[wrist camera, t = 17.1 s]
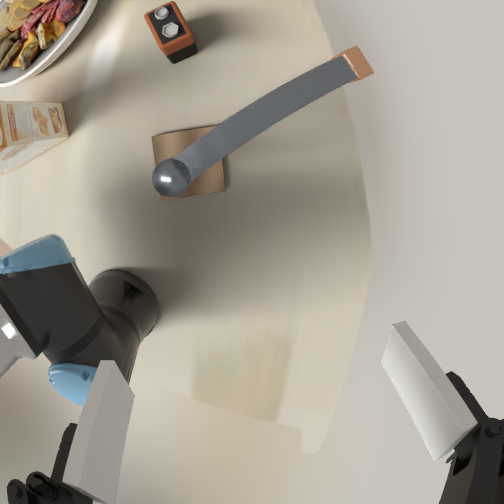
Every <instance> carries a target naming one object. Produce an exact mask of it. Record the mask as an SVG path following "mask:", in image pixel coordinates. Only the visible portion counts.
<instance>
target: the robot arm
mask: <svg viewBox="0 0 504 504" xmlns="http://www.w3.org/2000/svg"><path fill="white" fill-rule="evenodd" d="M75 261H76V260H75V258H74V257H72V255H71V254H70V252H69V250H68V248H67V246H66V244H65V243H64V241H63V239H62V238H61V237H60V236H58V235H55V234H50V235H46V236H44V237H41V238H39V239H36V240H34V241H32V242H30V243H27V244H25V245H23V246H21V247H19V248H17V249H15V250H13V251H11V252H9V253H7V254H6V255H4V256H2V257H0V378H1V377H2V376H3V375H4V374H5V373H6V372H7V371H8V370H9V369H10V367H11V366H12V365H13V364H14V363H15V362H16V361H17V360H18V359H20V358H27V359H36V358H37V357H38V355H40V353H41V352H43V353H44V355H45V356H46V357H47V359H48V360H49V361H50V362H51V364H52V365H51V366H50V367H49V374H48V376H49V381H50V383H51V385H52V386H53V387H54V388H55V389H56V390H57V392H59V393H60V394H61V395H62V396H64V397H65V398H67V399H69V400H70V401H72V402H74V403H76V404H79V405H81V406H84V407H83V410H82V413H81V416H80V419H79V422H78V424H74V423H70V425H69V426H68V427H67V428H66V430H65V431H64V434H63V437H62V442H61V443H60V447H59V449H60V450H59V451H58V454H57V457H56V461H55V464H54V468H53V472H52V476H51V478H49V477H47V476H46V475H44V474H43V473H41V472H37V471H36V472H33V473H31V474H30V475H29V476H28V477H27V479H26V484H24V483H23V482H21V481H19V480H17V479H13V480H11V481H10V482H9V484H8V486H7V495H8V502H9V504H92V503H93V500H94V501H96V502H98V503H100V504H116V496H117V488H118V481H119V475H120V468H121V462H122V455H123V450H124V445H125V439H126V434H127V429H128V424H129V419H130V415H131V410H132V406H133V401H134V396H135V395H134V393H133V392H132V390H131V388H130V387H129V382H130V378H131V374H132V370H133V366H134V363H135V359H136V355H137V352H138V348H139V345H140V343H141V342H142V341H143V339H144V338H145V337H146V336H147V335H148V334H149V333H150V332H151V331H152V330H153V328H154V326H155V324H156V321H157V318H158V313H159V308H158V302H157V299H156V297H155V295H154V293H153V292H152V290H151V289H150V288H149V287H148V285H147V284H146V283H144V282H143V281H142V280H141V279H139V278H138V277H136V276H134V275H132V274H130V273H127V272H124V271H119V270H110V271H105V272H102V273H100V274H99V275H97V276H96V277H95V278H94V279H93V280H92V282H91V283H90V285H89V286H87V284H86V282H85V280H84V278H83V276H82V274H81V272H80V270H79V269H78V267H77V265H76V263H75ZM381 364H382V365H383V367H384V369H385V371H386V372H387V374H388V376H389V377H390V379H391V381H392V382H393V384H394V386H395V388H396V390H397V392H398V393H399V395H400V397H401V399H402V401H403V403H404V404H405V406H406V408H407V410H408V412H409V413H410V415H411V417H412V419H413V421H414V423H415V425H416V427H417V429H418V431H419V433H420V435H421V436H422V438H423V440H424V442H425V444H426V446H427V448H428V450H429V452H430V454H431V456H432V458H433V460H434V461H436V460H438V459H440V458H442V457H443V456H445V455H447V454H448V453H449V452H450V451H451V450H452V449H453V448H454V450H455V452H454V453H453V454H452V455H451V456H450V457H449V458H448V459H447V461H446V463H448V462H449V461H451V460H452V462H451V466H450V470H449V474H448V478H447V481H446V484H445V487H444V490H443V493H442V496H441V499H440V502H439V504H504V419H502V420H498V419H495V418H489V417H488V416H487V415H486V414H485V412H484V411H483V409H482V408H481V406H480V405H479V403H478V402H477V400H476V399H475V397H474V396H473V395H472V393H470V390H469V389H468V388H467V387H466V385H465V383H464V382H463V380H462V379H461V378H460V377H459V376H458V375H456V374H455V373H453V372H452V371H451V372H449V373H447V374H445V373H444V372H443V370H442V369H441V368H440V366H439V365H438V364H437V362H436V361H435V359H434V358H433V357H432V355H431V354H430V353H429V351H428V350H427V349H426V347H425V346H424V345H423V343H422V342H421V341H420V340H419V338H418V337H417V336H416V334H415V333H414V332H413V331H412V329H411V328H410V327H409V325H408V324H407V323H406V322H405V321H404V322H400V323H397V324H392V328H391V332H390V335H389V339H388V343H387V346H386V349H385V352H384V355H383V359H382V362H381Z"/></svg>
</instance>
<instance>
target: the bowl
mask: <svg viewBox="0 0 504 504" xmlns="http://www.w3.org/2000/svg"><path fill="white" fill-rule="evenodd" d="M97 2H98V0H1V1H0V87H9V86H14V85H17V84H20V83H23V82H25V81H27V80H29V79H31V78H32V77H34V76H36V75H37V74H39V73H40V72H41V71H43V70H44V69H45V68H47V67H48V66H49V65H50V64H52V63H53V62H54V61H55V60H56V59H57V58H58V57H59V56H60V55H61V54H62V53H63V52H64V51H65V50H66V49H67V48H68V47H69V45H70V44H71V43H72V42H73V41H74V39H75V38H76V37H77V36H78V34H79V33H80V32H81V30H82V29H83V27H84V26H85V24H86V23H87V21H88V20H89V18H90V16H91V14H92V13H93V11H94V9H95V6H96V4H97Z"/></svg>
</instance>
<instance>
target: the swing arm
mask: <svg viewBox="0 0 504 504" xmlns="http://www.w3.org/2000/svg"><path fill="white" fill-rule="evenodd" d="M331 59H332V60H330V61H328V62H326V63H324V64H322V65H320V66H318V67H316V68H314V69H312V70H310V71H308V72H306V73H304V74H302V75H300V76H298V77H296V78H295V79H293V80H291V81H289V82H287V83H285V84H284V85H282V86H280V87H278V88H277V89H275V90H273V91H271V92H270V93H268V94H266V95H265V96H263V97H261V98H260V99H258V100H256V101H255V102H253V103H251V104H250V105H248V106H247V107H245V108H244V109H242V110H240V111H239V112H237V113H236V114H234V115H233V116H231V117H230V118H228V119H227V120H225V121H224V122H222V123H221V124H219V125H218V126H216V127H215V128H213V129H212V130H211V131H209V132H208V133H206V134H205V135H204V136H202V137H201V138H199V139H198V140H197V141H195V142H194V143H193V144H191V145H190V146H189V147H187V148H186V149H185V150H183V151H182V152H181V153H179V154H178V155H177V156H173V157H170V158H168V159H166V160H164V161H162V162H160V163H159V164H158V165H157V166H156V168H155V169H154V172H153V176H152V181H153V185H154V187H155V189H156V190H157V191H158V192H159V193H160V194H161V195H163V196H166V197H177V196H180V195H181V194H183V193H184V192H185V191H186V190H187V189H188V187H189V186H190V184H191V182H192V180H193V179H195V178H196V177H197V176H199V175H200V174H202V173H203V172H204V171H206V170H207V169H208V168H210V167H211V166H213V165H214V164H215V163H217V162H218V161H220V160H221V159H222V158H224V157H225V156H227V155H228V154H230V153H231V152H233V151H234V150H235V149H237V148H238V147H240V146H241V145H243V144H244V143H246V142H247V141H249V140H250V139H252V138H253V137H255V136H257V135H258V134H260V133H261V132H263V131H264V130H266V129H268V128H269V127H271V126H272V125H274V124H276V123H277V122H279V121H280V120H282V119H284V118H285V117H287V116H289V115H290V114H292V113H294V112H295V111H297V110H299V109H300V108H302V107H304V106H306V105H307V104H309V103H311V102H313V101H315V100H316V99H318V98H320V97H322V96H324V95H325V94H327V93H329V92H331V91H333V90H335V89H337V88H339V87H340V86H342V85H344V84H346V83H350V82H354V81H357V80H360V79H363V78H365V77H367V76H369V75H371V74H373V73H374V72H373V70H372V69H371V67H370V65H369V64H368V62H367V60H366V59H365V57H364V56H363V54H362V53H361V51H360V49H359V48H358V47H357V46H355V47H353V48H350V49H348V50H345V51H343V52H341V53H340V54H338V55H336V56H335V57H333V58H331Z"/></svg>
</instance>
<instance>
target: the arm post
mask: <svg viewBox="0 0 504 504" xmlns="http://www.w3.org/2000/svg"><path fill="white" fill-rule="evenodd" d="M215 127H216V126H213V127H205V128H198V129H191V130H185V131H179V132H173V133H168V134H162V135H157V136H152V143H153V151H154V158H155V165H156V166H157V165H158V164H159V163H160V162H162V161H164V160H166V159H168V158H170V157H173V156H177V155H178V154H179V153H181V152H182V151H183V150H185V149H186V148H187V147H189V146H190V145H191V144H193V143H194V142H195V141H197V140H198V139H199V138H201V137H202V136H204V135H205V134H206V133H208V132H209V131H211V130H212V129H213V128H215ZM221 191H225V182H224V173H223V164H222V159H221V160H220V161H218V162H217V163H215V164H214V165H213V166H211V167H210V168H208V169H207V170H206V171H204V172H203V173H202V174H200V175H199V176H197V177H196V178H195V179H193V180H192V182H191V184H190V186H189V187H188V189H187V190H186V191H185V192H184V193H183V194H181V195H180V196H177V197H166V196H163V195H161V194H160V195H161V200H165V199H171V198H178V197H184V196H191V195H198V194H206V193H213V192H221Z"/></svg>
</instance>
